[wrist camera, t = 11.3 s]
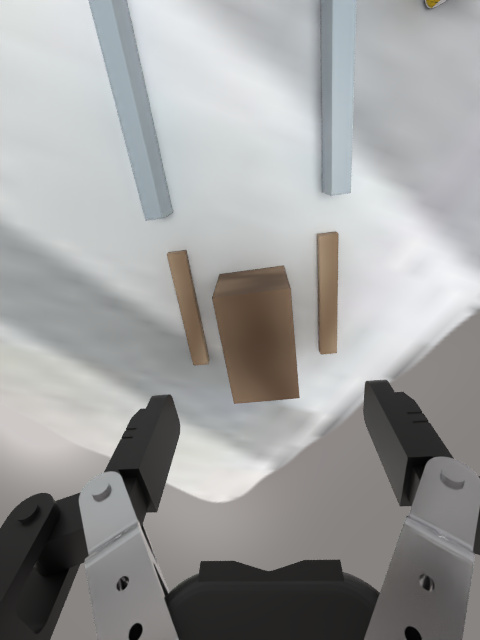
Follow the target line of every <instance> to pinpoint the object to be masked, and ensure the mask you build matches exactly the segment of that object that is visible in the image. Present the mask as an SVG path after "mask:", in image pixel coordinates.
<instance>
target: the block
mask: <svg viewBox="0 0 480 640" xmlns="http://www.w3.org/2000/svg"><path fill="white" fill-rule="evenodd" d="M212 300H213V305H214V309H215V314H216V319H217V324H218V329H219V334H220V338H221V343H222V348H223V353H224V358H225V363H226V367H227V372H228V377H229V382H230V387H231V392H232V396H233V401H234V404H237V403H249V402H260V401H271V400H283V399H294V398H299V387H298V374H297V362H296V349H295V337H294V325H293V312H292V300H291V288H290V285H289V281H288V278H287V275H286V272H285V268H284V266H277V267H270V268H262V269H255V270H247V271H240V272H232V273H225V274H220V275H219V278H218V281H217V284H216V287H215V291H214V294H213V297H212Z"/></svg>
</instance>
